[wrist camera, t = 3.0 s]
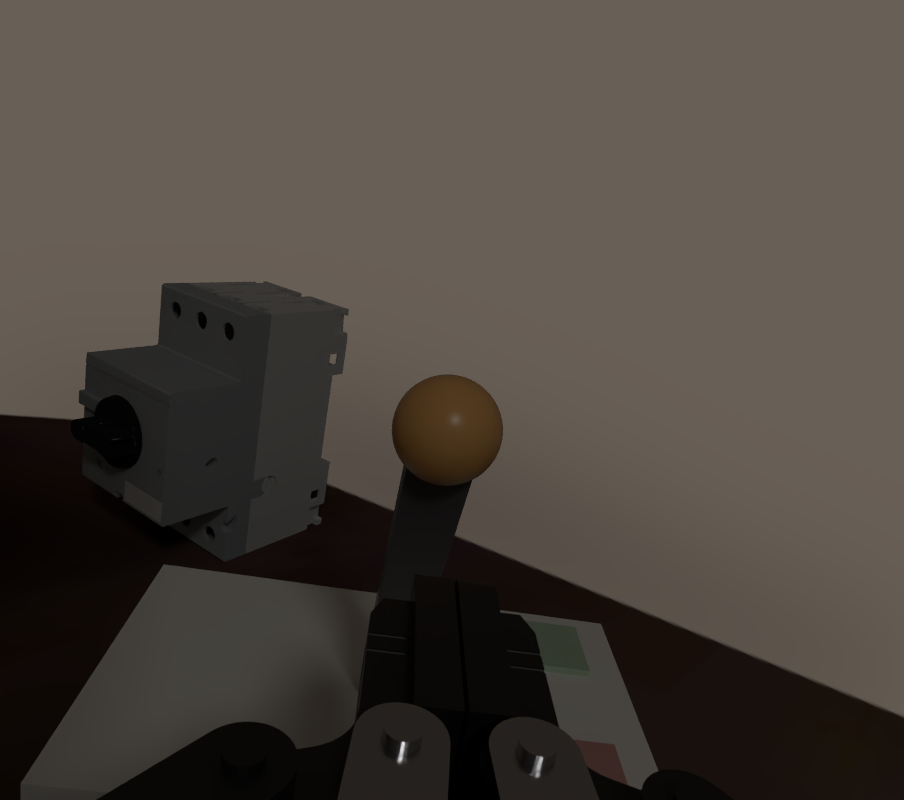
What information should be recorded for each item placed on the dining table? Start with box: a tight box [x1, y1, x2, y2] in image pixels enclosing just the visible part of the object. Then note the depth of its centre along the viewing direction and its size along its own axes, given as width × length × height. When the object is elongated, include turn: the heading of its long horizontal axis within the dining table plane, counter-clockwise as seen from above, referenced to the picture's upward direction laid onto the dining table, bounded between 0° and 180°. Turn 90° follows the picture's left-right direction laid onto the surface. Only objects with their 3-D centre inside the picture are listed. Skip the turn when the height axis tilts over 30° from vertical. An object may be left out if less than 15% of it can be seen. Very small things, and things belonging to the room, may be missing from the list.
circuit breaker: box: [71, 282, 348, 562], centre depth 44 cm, size 8×14×15 cm, turn 145°
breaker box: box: [21, 565, 658, 800], centre depth 28 cm, size 20×12×6 cm, turn 92°
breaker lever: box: [374, 375, 503, 608], centre depth 22 cm, size 3×3×15 cm
